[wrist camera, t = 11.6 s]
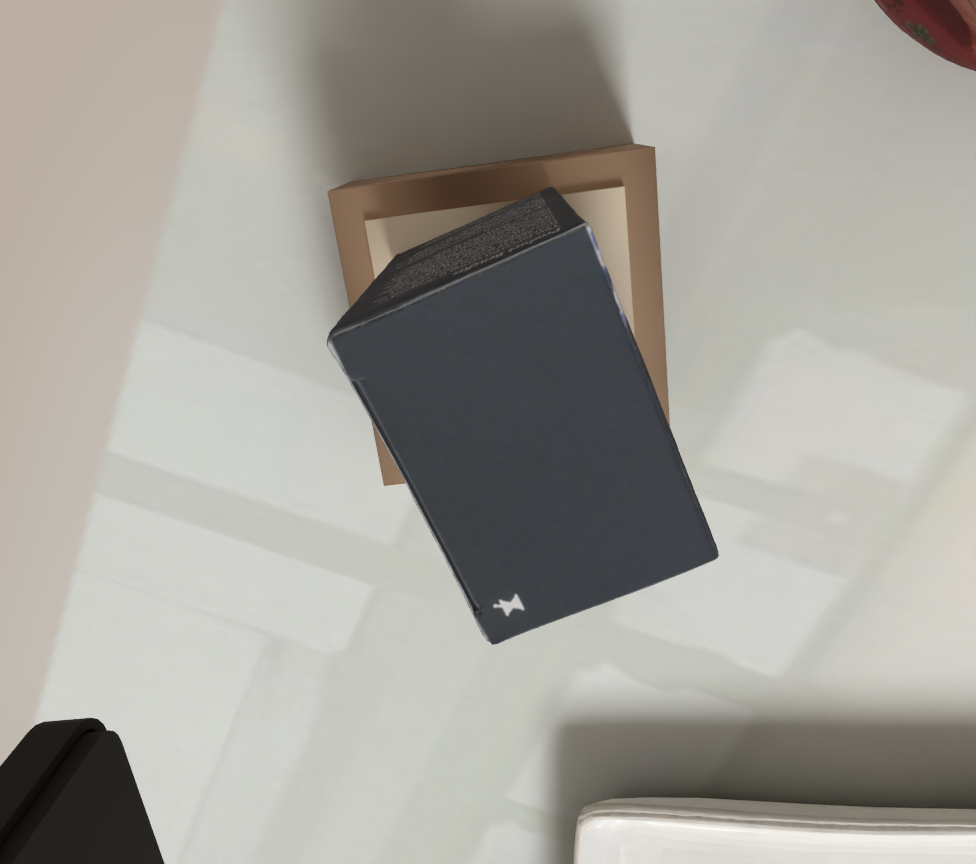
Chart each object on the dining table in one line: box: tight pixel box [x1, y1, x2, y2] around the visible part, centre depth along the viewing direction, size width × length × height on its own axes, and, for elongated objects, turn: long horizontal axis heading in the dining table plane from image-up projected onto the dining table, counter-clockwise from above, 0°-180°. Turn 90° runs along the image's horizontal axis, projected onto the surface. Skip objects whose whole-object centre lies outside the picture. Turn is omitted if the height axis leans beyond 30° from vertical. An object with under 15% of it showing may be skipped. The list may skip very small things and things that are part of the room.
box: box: [327, 187, 719, 644], centre depth 21 cm, size 8×6×11 cm
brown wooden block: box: [328, 144, 670, 486], centre depth 28 cm, size 10×10×4 cm
